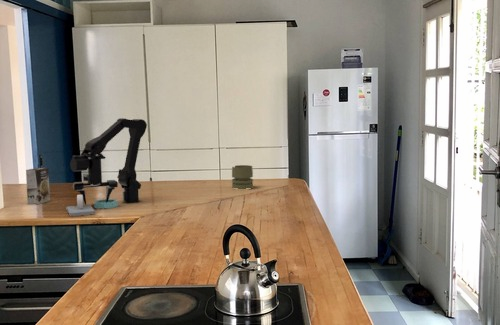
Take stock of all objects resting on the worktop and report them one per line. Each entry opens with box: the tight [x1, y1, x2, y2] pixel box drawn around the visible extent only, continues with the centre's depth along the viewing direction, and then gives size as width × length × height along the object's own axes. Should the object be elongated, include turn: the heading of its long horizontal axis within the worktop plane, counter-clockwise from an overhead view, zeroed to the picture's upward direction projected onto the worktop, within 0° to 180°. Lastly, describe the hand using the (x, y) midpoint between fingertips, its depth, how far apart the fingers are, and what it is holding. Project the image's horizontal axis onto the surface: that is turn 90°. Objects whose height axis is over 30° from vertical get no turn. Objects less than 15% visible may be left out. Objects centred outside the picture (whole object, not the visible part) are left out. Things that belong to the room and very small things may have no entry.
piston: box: [231, 164, 254, 189], centre depth 284 cm, size 11×12×11 cm
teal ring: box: [93, 198, 119, 210], centre depth 236 cm, size 10×10×2 cm
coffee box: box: [25, 167, 51, 205], centre depth 247 cm, size 9×6×16 cm
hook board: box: [65, 194, 96, 217], centre depth 223 cm, size 10×15×8 cm, turn 25°
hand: (96, 203), depth 234 cm, fingers open, 9 cm apart
